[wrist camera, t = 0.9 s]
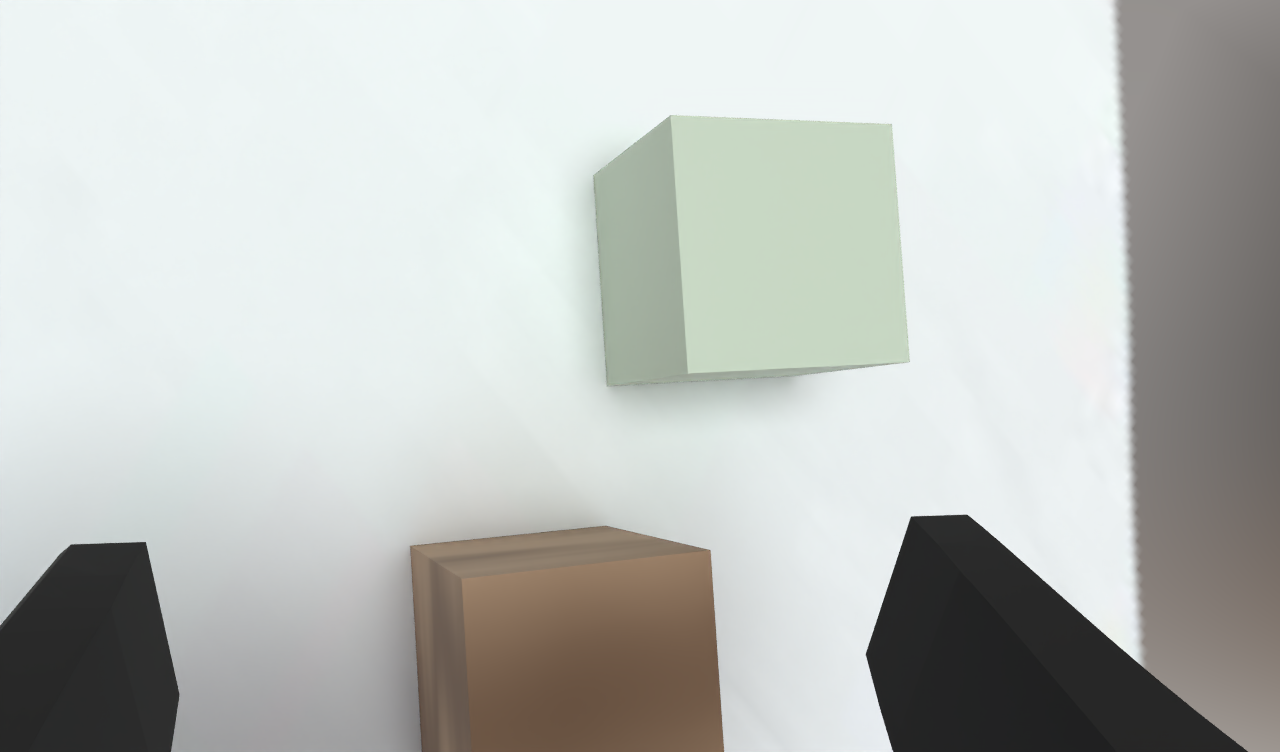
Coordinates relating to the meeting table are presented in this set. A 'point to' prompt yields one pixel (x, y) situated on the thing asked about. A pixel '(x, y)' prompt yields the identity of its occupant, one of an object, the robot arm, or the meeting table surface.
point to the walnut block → (566, 644)
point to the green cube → (750, 251)
